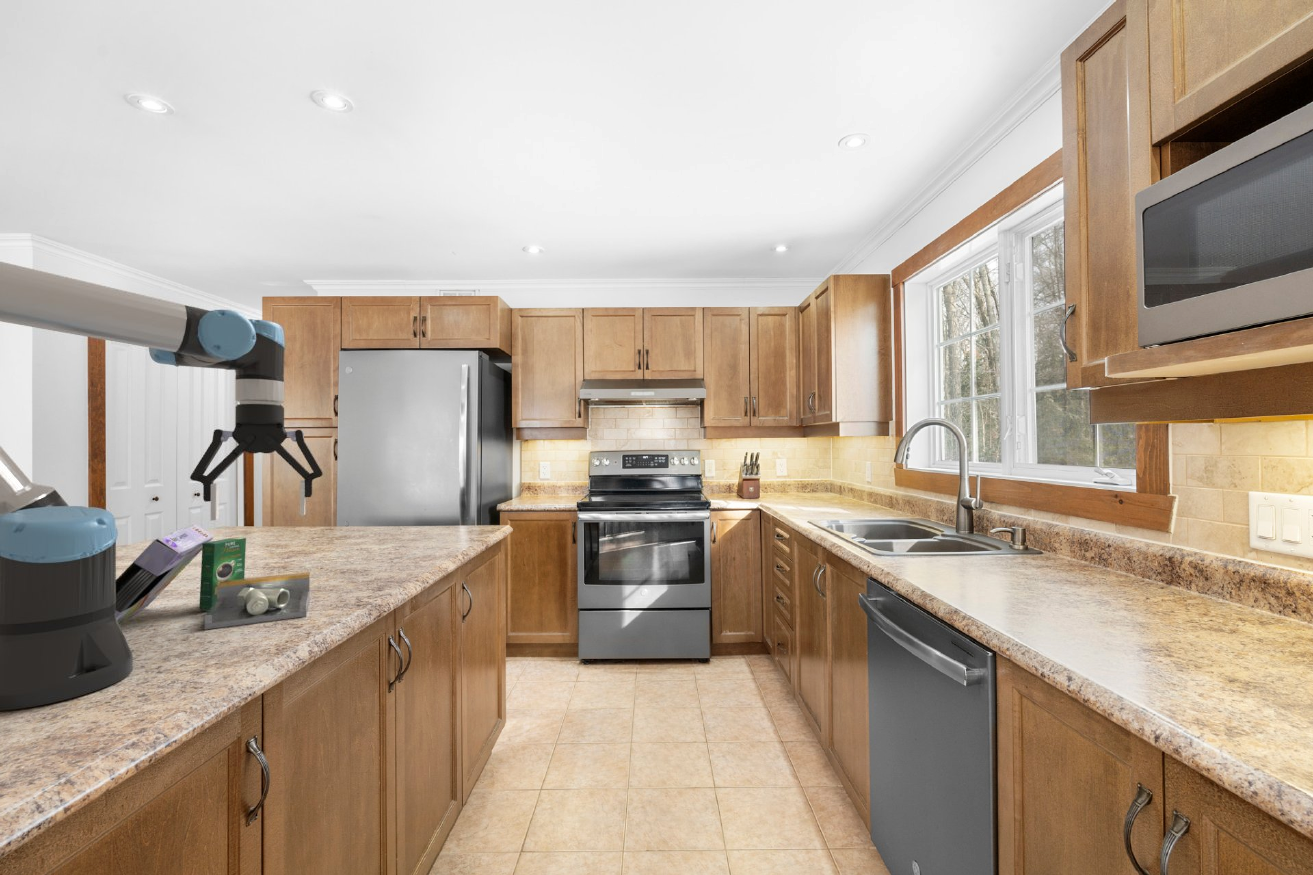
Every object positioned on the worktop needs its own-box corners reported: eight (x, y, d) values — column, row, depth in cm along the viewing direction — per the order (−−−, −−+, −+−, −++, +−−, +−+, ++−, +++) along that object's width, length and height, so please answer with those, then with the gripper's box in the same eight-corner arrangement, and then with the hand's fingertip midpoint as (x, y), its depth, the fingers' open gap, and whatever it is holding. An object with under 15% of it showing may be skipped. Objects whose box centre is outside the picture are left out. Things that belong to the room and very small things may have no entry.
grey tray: (306, 616, 106) (305, 586, 106) (204, 629, 99) (204, 597, 99) (310, 599, 118) (310, 572, 118) (219, 610, 110) (219, 581, 111)
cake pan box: (98, 640, 95) (179, 551, 99) (67, 625, 93) (151, 535, 98) (149, 609, 112) (216, 535, 117) (123, 596, 111) (192, 521, 115)
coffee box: (232, 599, 118) (234, 535, 118) (245, 599, 118) (247, 536, 118) (197, 610, 110) (199, 542, 110) (211, 611, 110) (213, 543, 110)
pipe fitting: (261, 619, 103) (290, 605, 109) (260, 598, 102) (288, 585, 109) (221, 617, 104) (252, 604, 110) (220, 596, 103) (251, 584, 110)
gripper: (336, 406, 116) (336, 511, 116) (180, 403, 104) (180, 519, 104) (336, 404, 110) (335, 514, 109) (169, 400, 98) (168, 524, 98)
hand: (260, 517), depth 107 cm, fingers open, 13 cm apart
